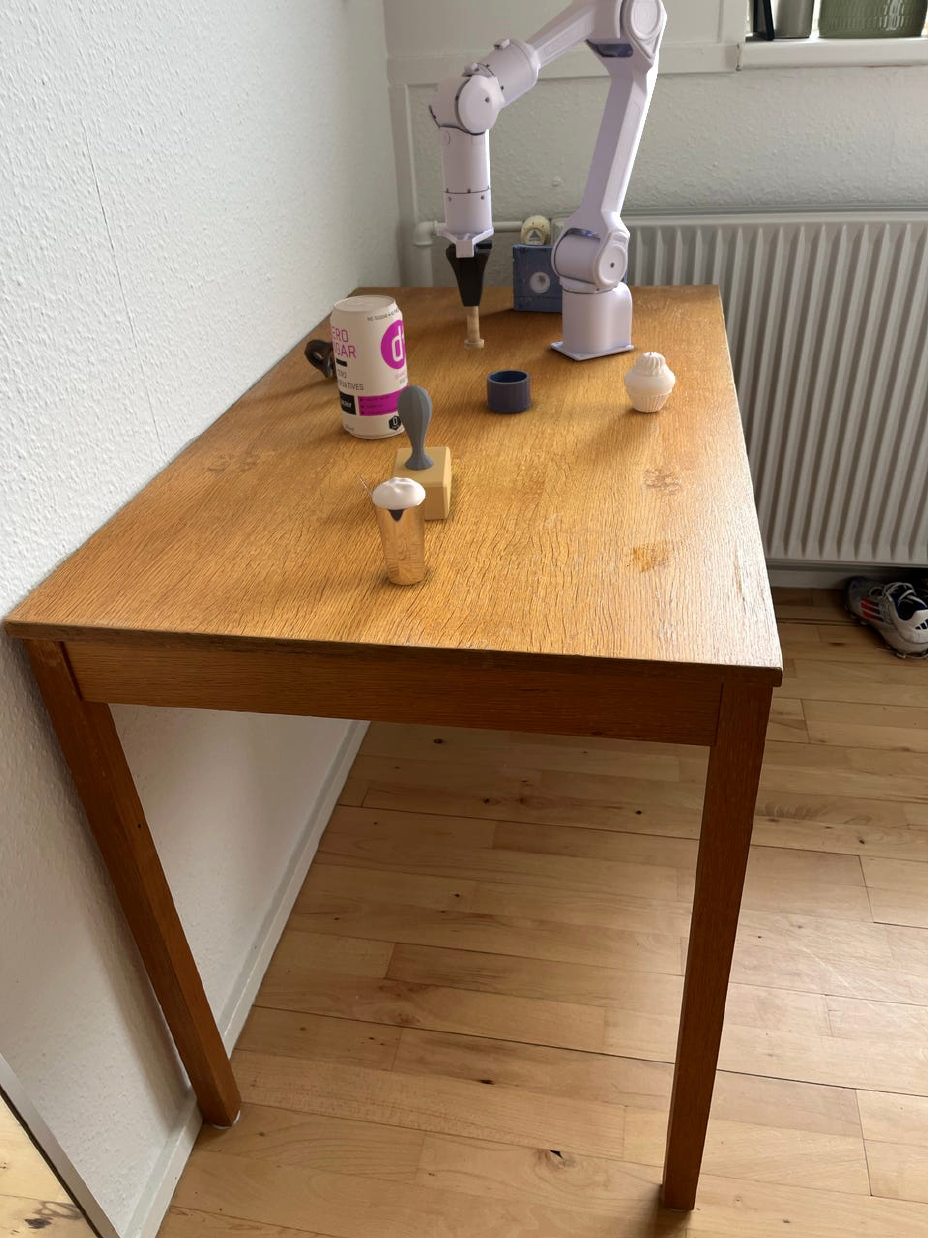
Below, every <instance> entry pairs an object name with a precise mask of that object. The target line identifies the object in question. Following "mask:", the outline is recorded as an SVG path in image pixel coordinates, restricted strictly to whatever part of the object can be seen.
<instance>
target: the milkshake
mask: <svg viewBox="0 0 928 1238" xmlns="http://www.w3.org/2000/svg"><path fill="white" fill-rule="evenodd" d="M359 479H360V481H361V483H362V484H363V486H364V488H365V489H366V490H367V492H368V494H369V496H370V497H371V500H372V505H373V509H374V513H375V518H376V522H377V527H378V532H379V537H380V538H379V539H380V543H381V548H382V554H383V559H384V564H385V569H386V573H387V578H388V579H389V581H390V583H392V584H395V585H399V586H408V585H414V584H417V583H418V582H421V581H422V580H423V579H424V577H425V574H426V560H425V559H426V552H425V551H426V550H425V549H426V547H425V545H426V544H425V542H426V541H425V540H426V535H425V531H426V529H425V527H426V525H425V523H426V522H425V521H426V520H425V491H424V489H423V487H422V486H421V485H420V484H418V483H416V482H414V481H413V480H411V479H409V478H398V477H394V478H392V479H390V478H389V479H388V480H386V481H385V482H381V483H380V484H378V485H377V486H376V488H374V490H373V492H372V493H371V491H370V489H369V487H368V486H367V484H366V482H365V481H364V479H363V478H362V476H361V475H359Z"/></svg>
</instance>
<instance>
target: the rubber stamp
mask: <svg viewBox="0 0 928 1238" xmlns="http://www.w3.org/2000/svg"><path fill="white" fill-rule="evenodd" d="M397 411H398V415H399V418H400V420H401V423H402V425H403V427H404V429H405V430H404V431H405V432H406V435H407V437H408V440H409V443H410V447H400V448H397V450H396V451H395V453H394V457H393V461H392V466H391V471H390V477H389V480H390V479H392V478H394V477H398V478H409V479H411V480H413V481H414V482H416V483H418V484H420V485H421V486H422V487H423V489H424V491H425V521H431V520H432V521H433V520H446V519H447V518H448V516H449V514H450V503H451V489H452V477H453V475H452V460H451V459H452V457H451V449H450V448H449V446H425V442H426V438H427V437H426V436H427V433H428V430H429V426H430V423H431V420H432V416H433V403H432V399H431V397H430V394H429V393H428V391H427V390H426V389H425V388H424V387H422V386H420V385H417V384H411V385H408V387H405V388H404V389H403V390H402V391H401V393H400V394H399V396H398V399H397Z"/></svg>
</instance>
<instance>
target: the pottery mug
mask: <svg viewBox="0 0 928 1238" xmlns="http://www.w3.org/2000/svg"><path fill="white" fill-rule="evenodd" d="M303 354H304V355H305V358H306V360H307V361H308V362H309V363H310V365H311V366H312V367H314V368H315V369H316V370H318V371H320V372H321V374H322V375H323V376H324V377H325V379H329V378H330V375H331V373H332V377H334V378H337V372H336V364H335V356H334V348H333V341H328V340H325V339H322V338H314V339H311V340H309V341H308V342H307V343H306V345H305V348H304V351H303ZM320 356H321V357H320Z"/></svg>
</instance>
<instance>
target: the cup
mask: <svg viewBox="0 0 928 1238" xmlns="http://www.w3.org/2000/svg"><path fill="white" fill-rule="evenodd" d="M485 380H486V403H487V409H488V410H489V411H491V412H493V413H497V414H504V415H505V414H506V415H510V414H518V413H522V412H525V411H528V410H529V409H530V408H531V404H532V403H531V402H532V399H531V398H532V395H531V392H532V391H531V375H530V373H529V372H527V371H524V370H519V369H501V370H496V371H493V372H490V373H489V374H487V376H486V379H485Z"/></svg>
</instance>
